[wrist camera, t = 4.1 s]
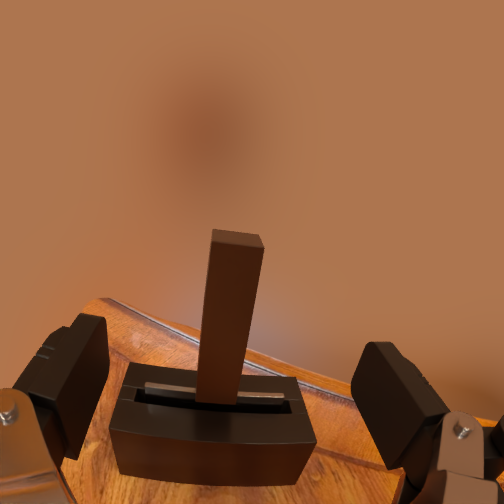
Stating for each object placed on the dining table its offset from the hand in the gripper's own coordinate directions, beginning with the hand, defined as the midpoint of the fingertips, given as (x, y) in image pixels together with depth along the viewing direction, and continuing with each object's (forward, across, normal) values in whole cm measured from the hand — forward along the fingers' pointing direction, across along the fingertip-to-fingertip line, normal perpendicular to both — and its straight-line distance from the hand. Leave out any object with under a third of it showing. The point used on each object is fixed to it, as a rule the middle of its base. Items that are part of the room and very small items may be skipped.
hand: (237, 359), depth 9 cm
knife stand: (+6, 0, +13) cm, 14 cm away
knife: (+6, 0, +13) cm, 14 cm away
